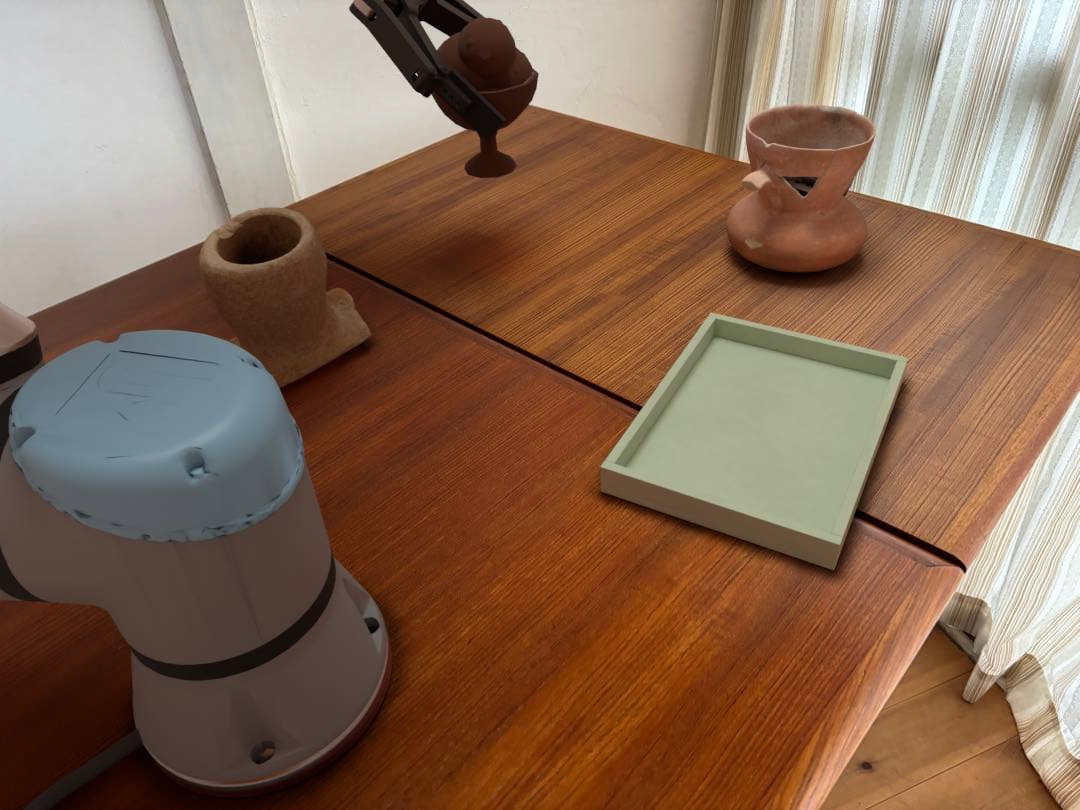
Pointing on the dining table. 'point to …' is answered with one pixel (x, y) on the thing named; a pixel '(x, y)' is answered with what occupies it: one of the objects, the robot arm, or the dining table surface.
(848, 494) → the serving tray
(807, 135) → the ceramic jug
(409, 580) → the dining table surface
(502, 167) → the ice cream bowl
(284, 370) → the stone cup
